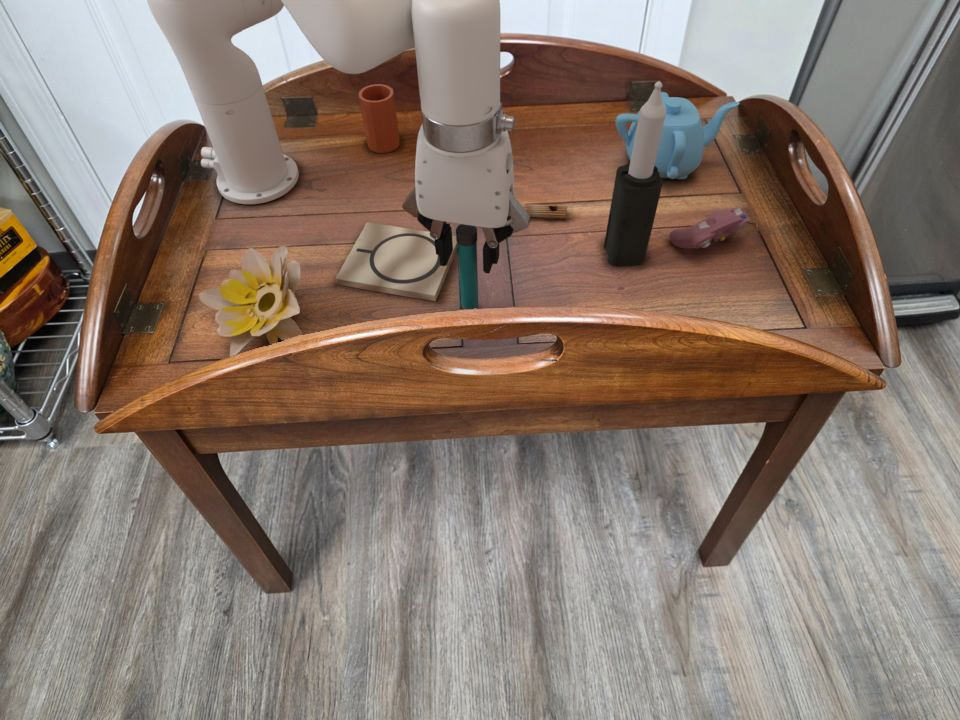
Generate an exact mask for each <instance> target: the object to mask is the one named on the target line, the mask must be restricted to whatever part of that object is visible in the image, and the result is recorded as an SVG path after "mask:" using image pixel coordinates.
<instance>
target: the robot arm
mask: <svg viewBox="0 0 960 720" xmlns="http://www.w3.org/2000/svg"><path fill="white" fill-rule="evenodd" d="M146 2H147V5H148V8H149V10H150V13H151V14H152V16H153V18H154V20H155V22H156V24H157V25H158V27H159V29H160V30H161V32H162V34H163V35H164V37H165V38H166V40H167V42H168V44H169V46H170V47H171V49H172V52H173V54H174V55H175V57H176V60H177V62H178V64H179V66H180V68H181V71H182V73H183V75H184V77H185V80H186V83H187V85H188V87H189V90H190V93H191V95H192V97H193V100H194V104H195V105H196V107H197V111H198V112H199V115H200V118H201V120H202V123H203V125H204V128H205V130H206V133H207V136H208V139H209V141H210V142H211V146H212V147H210V146H209V147H208V146H203V147H201V150H200V155H201V160H200V167H201V168H204V169H213V170H214V171H216V174H217V176H216V182H215V183H216V187H217V189H218V192H219V194H220V195H221V196H222V197H223V198H224V199H226V200H228V201H230V202H232V203H235V204H240V205H260V204H264V203H268V202H271V201H272V202H273V201H274V200H276V199H279V198H281V197H283V196H284V195H286V194H288V193H289V192H290V191H291V190H292V189H293V188H294V187H295V185H296V184H297V182H298V179H299V176H300V172H299V168H298V164H297V162H295V160H294V159H292V158H291V157H290V156H288V155H286V154H284V152H283V150H282V146H281V143H280V139H279V135H278V133H277V129H276V125H275V122H274V119H273V115H272V111H271V109H270V106H269V103H268V102H269V101H268V99H267V96H266V92H265V88H264V85H263V82H262V79H261V76H260V75H261V74H260V72H259V68H258V67H257V65H256V63H255V62H254V60H253V59H252V57H251V56H250V55H249V54H248V53H246V52H245V51H244V50H242V49H240V48H239V47H237V46H236V45H235V44H234V43H233V42H232V38H233V37H234V36H236V35H238V34H239V33H241V32H243V31H245V30H247V29H250V28H252V27H254V26H256V25H258V24H260V23H263V22H266V21H267V20H269V19H272V18H273V17H275V16H276V15H278V14H279V13H280V12H281V11H282V10H283V8H284V7H285V9H286V10H287V12H288V14H289V15H290V17H291V18H292V19H293V20H294V22H295V24H296V25H297V27H298V28H299V31H301V33H302V34H303V35H304V37H305V38H306V40H307V41H308V43H309V44H310V45H311V47H312V48H313V49H314V50H315V51H316V53H317V54H318V55H319V56H320V57H321V58H322V60H324V62H326V63H327V64H328V65H329V66H330V67H332V68H333V69H335V70H337V71H338V72H340V73H343V74H349V75H360V74H363V73H366V72H368V71H370V70H372V69H375V68H376V67H378V66H380V65H383V64H384V63H386V62H388V61H389V60H391V59H394V58H395V57H398V56H399V55H400V54H403V53H405V52H407V51H408V50H411V49H414V50H415V61H416V71H417V81H418V92H419V104H420V110H421V112H420V113H421V119H422V120H421V122H422V124H421V125H420V128H419V131H418V133H417V139H416V147H415V148H416V149H415V164H414V165H415V166H414V187H413V189H412V190H411V191H410V193H408V195H407V196H406V198H405V199H404V201H403V203H402V204H401V208H402V210H404V211H405V212H407V213H408V214H409V215H411V216H412V217H413V218H416V219H417V221H418V223H419V224H421V225H422V226H423V227H424V228H425V230H426V231H428V232H430V236H431V237H432V238H433V239H434V240H435V250H436V255H439V258H440V266H445V265H446V266H447V264H448V261H449V259H450V256H451V254H452V252H453V242H452V235H453V230H452V229H453V228H452V226H451V224H452V223H453V224H457V225H458V224H459V225H460V224H464V225H471V226H476V227H479V228H481V229H482V233H483V235H484V238H485V239H484V244H483V246H482V271H483V273H484V274H488V275H490V273H491V271H492V268H493V265H498V263H499V259H500V243H501V242H504V241H505V240H507V239H508V238H510V237H512V235H513V234H516V233H518V232H521V231H523V230H525V229H527V228H529V226H530V222H531V221H532V220H531V219H532V217H530V216H529V214H528V213H527V212H526V210H525V209H524V208H523V207H522V205H521V204H522V203H520V201H519V200H518V199H517V197H516V185H515V184H516V183H515V182H516V181H515V168H514V167H515V166H514V158H513V150H512V144H511V139H510V135H509V132H514V129H515V126H516V125H515V124H516V117H515V116H513V115H508V114H507V113H505V111H504V110H503V103H502V102H501V1H500V0H146ZM508 214H509V215H510V216H509V217H510V218H508Z"/></svg>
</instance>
